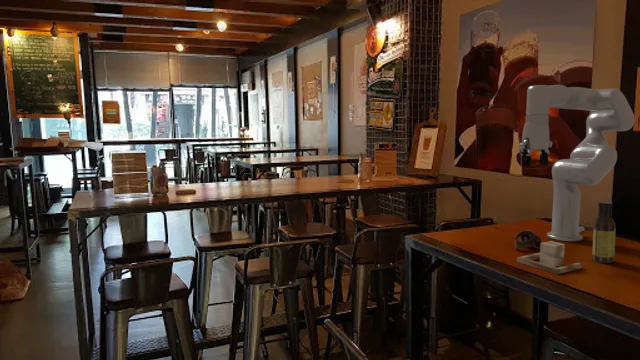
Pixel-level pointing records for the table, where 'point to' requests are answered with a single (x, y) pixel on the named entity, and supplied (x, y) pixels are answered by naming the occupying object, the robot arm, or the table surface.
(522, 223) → the table surface
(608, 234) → the sauce bottle
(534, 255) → the oak bay
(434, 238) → the table surface
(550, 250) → the birch block
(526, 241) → the broken clay pot rim
